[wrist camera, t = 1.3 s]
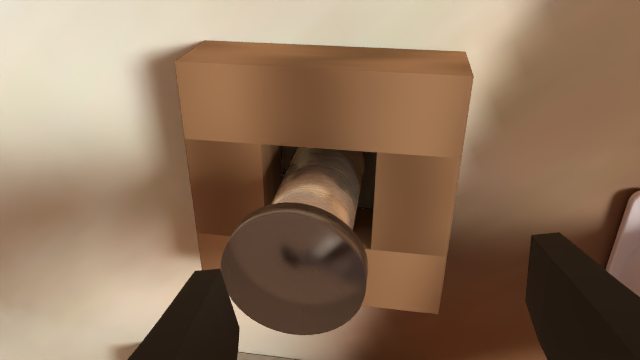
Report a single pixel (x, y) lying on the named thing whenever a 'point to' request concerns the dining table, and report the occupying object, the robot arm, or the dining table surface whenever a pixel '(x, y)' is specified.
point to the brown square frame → (332, 146)
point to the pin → (302, 248)
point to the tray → (257, 357)
